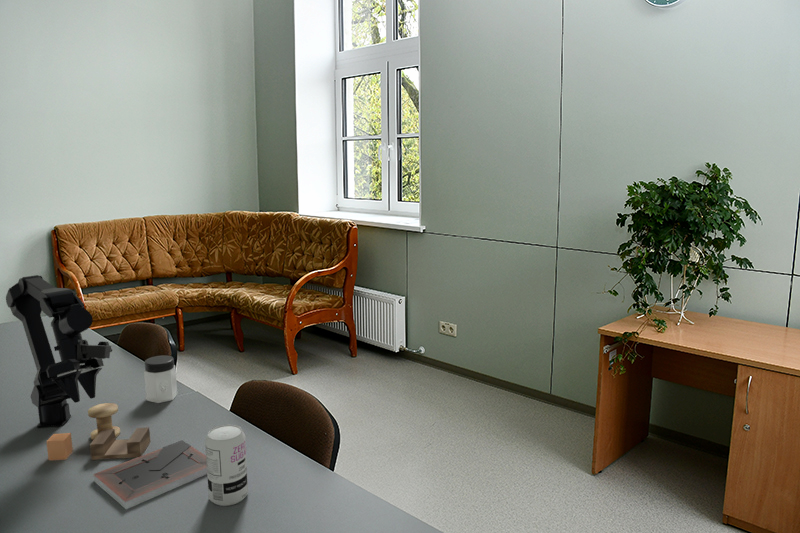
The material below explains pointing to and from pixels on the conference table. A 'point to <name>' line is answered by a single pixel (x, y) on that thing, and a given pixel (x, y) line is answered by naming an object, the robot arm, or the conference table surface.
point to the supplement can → (226, 465)
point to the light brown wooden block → (59, 446)
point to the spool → (103, 418)
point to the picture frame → (152, 474)
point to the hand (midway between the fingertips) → (85, 400)
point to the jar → (160, 379)
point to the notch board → (119, 444)
